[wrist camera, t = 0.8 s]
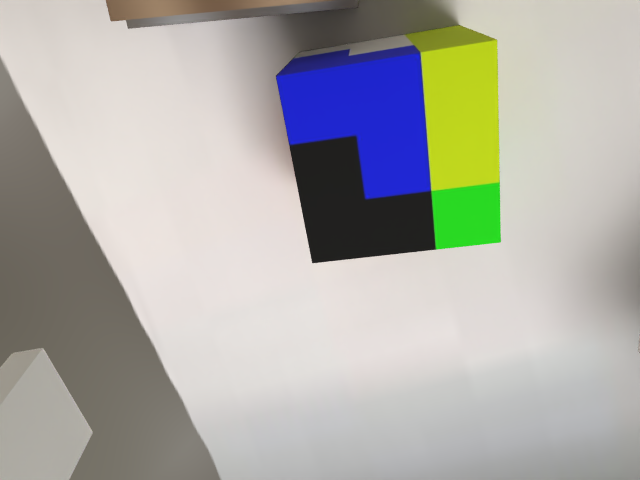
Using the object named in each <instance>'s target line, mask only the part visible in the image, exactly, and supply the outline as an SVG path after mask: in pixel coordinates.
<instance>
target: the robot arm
mask: <svg viewBox="0 0 640 480" xmlns="http://www.w3.org/2000/svg"><path fill="white" fill-rule="evenodd" d="M638 351H639V353H640V335H639V345H638ZM92 433H93V432H92V430H91V428H90V427H89V425H88V423H87V422H86V420H85V418H84V417H83V415H82V413H81V412H80V410H79V408H78V406H77V405H76V403H75V402H74V400H73V398H72V396H71V395H70V393H69V392H68V389H67V388H66V386H65V384H64V383H63V381H62V379H61V378H60V376H59V375H58V373H57V371H56V369H55V368H54V366H53V364H52V362H51V361H50V360H49V357H48V356H47V354H46V352H45V351H44V349H43V348H40V349H34V350H28V351H22V352H16V353H12V354H11V355H10V357H9V358H8V359H7V360H6V362H5V363H4V364H3V365H2V366H1V368H0V480H69V479H70V477H71V474H72V472H73V471H74V469H75V467H76V464H77V463H78V461H79V459H80V456H81V455H82V453H83V451H84V449H85V447H86V445H87V443H88V441H89V439H90V437H91V435H92Z"/></svg>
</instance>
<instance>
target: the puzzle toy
mask: <svg viewBox="0 0 640 480" xmlns="http://www.w3.org/2000/svg"><path fill="white" fill-rule="evenodd" d="M276 79H277V84H278V89H279V95H280V100H281V105H282V110H283V115H284V120H285V125H286V130H287V136H288V141H289V146H290V151H291V156H292V161H293V166H294V171H295V177H296V182H297V187H298V192H299V197H300V202H301V207H302V213H303V218H304V223H305V228H306V233H307V238H308V243H309V248H310V254H311V259H312V263H318V262H327V261H336V260H345V259H354V258H363V257H372V256H381V255H390V254H399V253H408V252H418V251H427V250H436V249H445V248H454V247H463V246H472V245H481V244H490V243H499V242H501V235H500V177H499V118H498V60H497V40H496V39H494V38H491V37H489V36H486V35H483V34H481V33H478V32H476V31H473V30H471V29H468V28H465V27H463V26H460V25H457V26H451V27H445V28H439V29H433V30H428V31H422V32H416V33H410V34H404V35H398V36H392V37H386V38H380V39H374V40H368V41H363V42H357V43H351V44H345V45H339V46H333V47H327V48H321V49H315V50H309V51H303V52H299V53H298V54H297V55H296V56H295V57H294V58H293V59H292V60H291V61H290V62H289V63H288V64H287V65H286V66H285V67H284V68H283V69H282V70H281V71H280V72H279V73H278V74H277V75H276Z"/></svg>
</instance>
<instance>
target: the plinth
mask: <svg viewBox="0 0 640 480" xmlns="http://www.w3.org/2000/svg"><path fill="white" fill-rule="evenodd" d="M106 3H107V7H108V11H109V16H110V20H111V21H120V20H126V22H127V26H128V29H129V28H140V27H151V26H162V25H173V24H184V23H195V22H205V21H216V20H227V19H238V18H249V17H260V16H271V15H282V14H293V13H304V12H315V11H326V10H337V9H348V8H358V0H106Z"/></svg>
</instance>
